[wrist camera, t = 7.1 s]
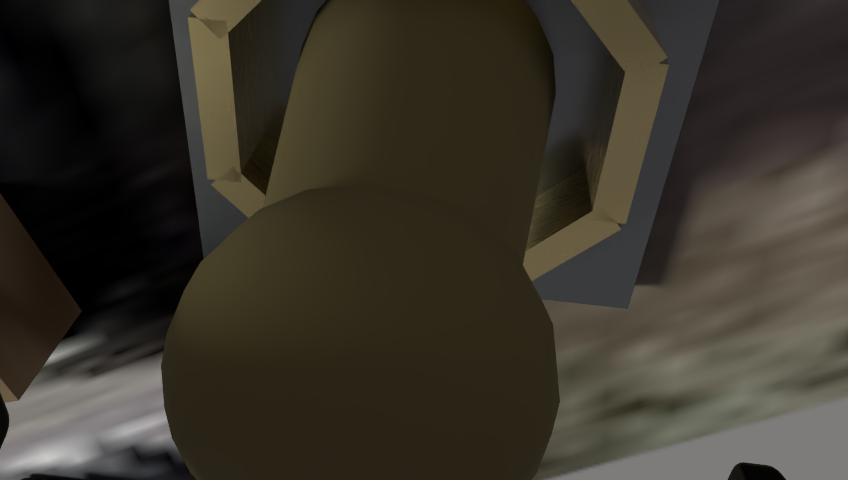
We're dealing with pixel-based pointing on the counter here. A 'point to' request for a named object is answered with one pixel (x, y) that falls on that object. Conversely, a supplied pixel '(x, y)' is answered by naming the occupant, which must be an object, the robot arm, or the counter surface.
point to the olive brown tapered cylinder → (382, 263)
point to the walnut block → (27, 307)
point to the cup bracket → (566, 143)
